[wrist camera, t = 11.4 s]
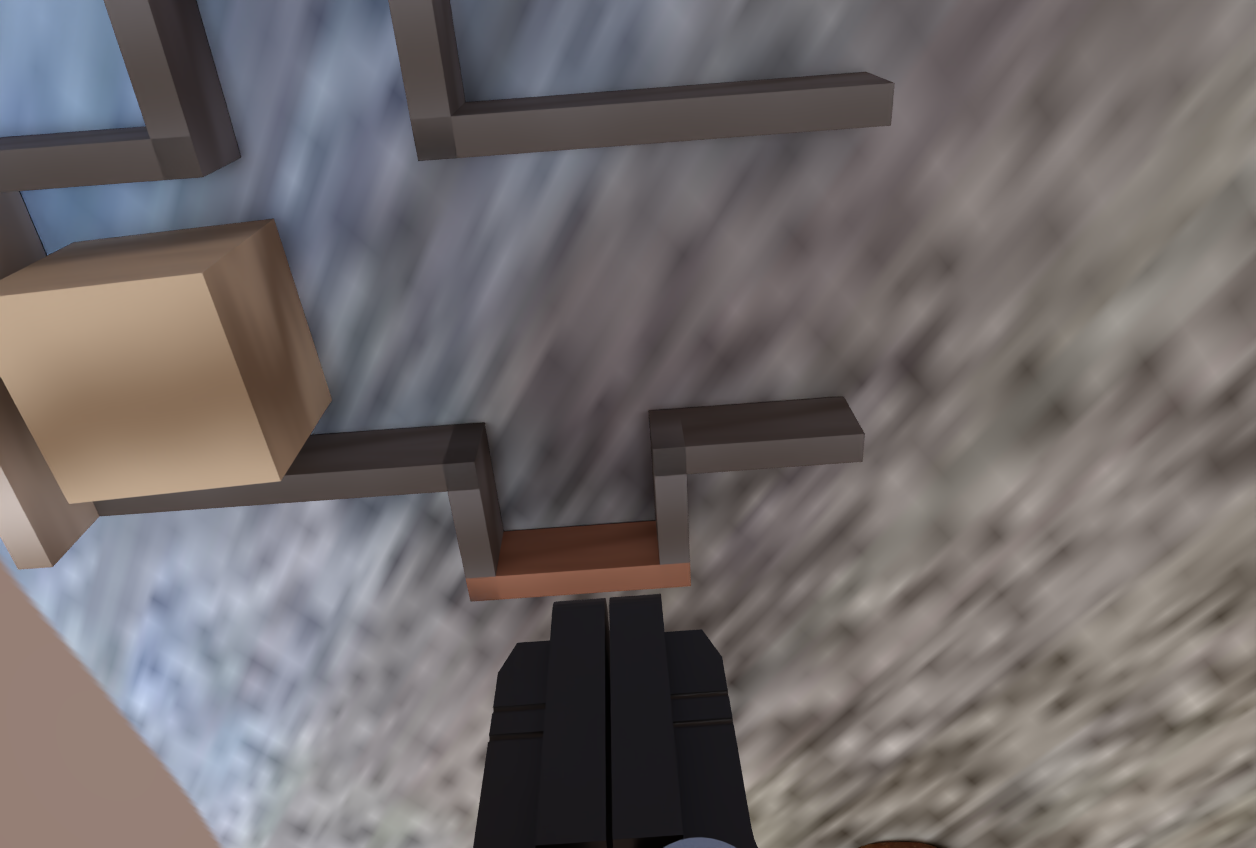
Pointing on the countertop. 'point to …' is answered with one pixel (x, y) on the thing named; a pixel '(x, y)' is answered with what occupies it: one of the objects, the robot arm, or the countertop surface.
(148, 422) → the maple block
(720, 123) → the channel
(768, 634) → the countertop surface
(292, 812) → the countertop surface
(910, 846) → the bread roll
